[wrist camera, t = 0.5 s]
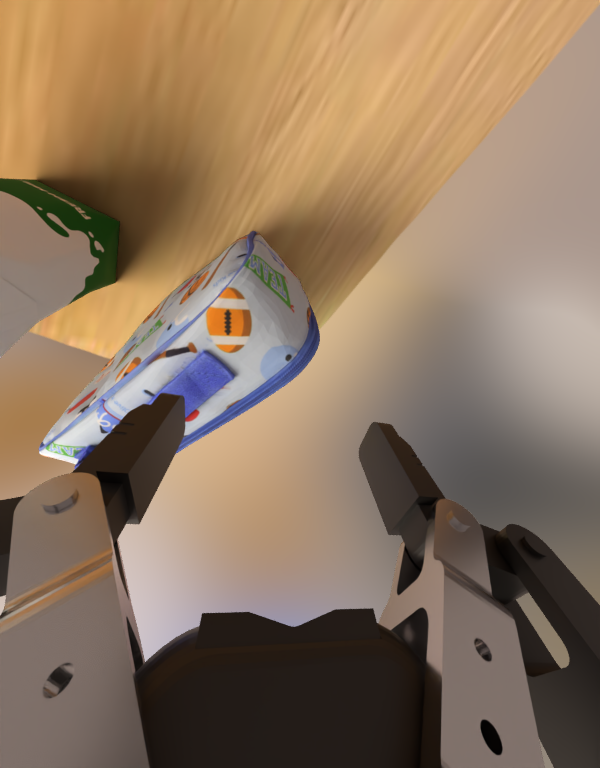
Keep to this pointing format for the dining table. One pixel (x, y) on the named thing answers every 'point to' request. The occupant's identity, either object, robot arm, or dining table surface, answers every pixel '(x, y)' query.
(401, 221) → the dining table surface
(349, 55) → the dining table surface
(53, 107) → the dining table surface
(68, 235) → the milk carton
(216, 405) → the lunch box
